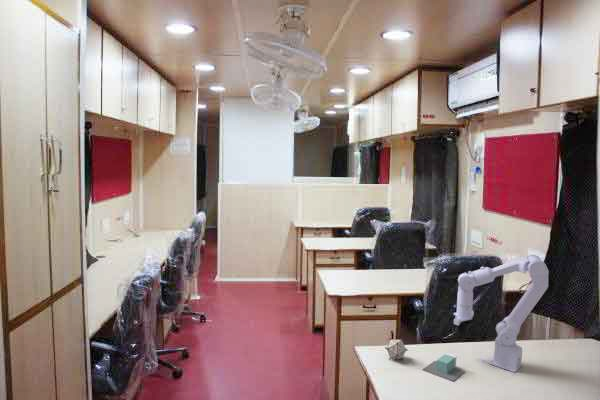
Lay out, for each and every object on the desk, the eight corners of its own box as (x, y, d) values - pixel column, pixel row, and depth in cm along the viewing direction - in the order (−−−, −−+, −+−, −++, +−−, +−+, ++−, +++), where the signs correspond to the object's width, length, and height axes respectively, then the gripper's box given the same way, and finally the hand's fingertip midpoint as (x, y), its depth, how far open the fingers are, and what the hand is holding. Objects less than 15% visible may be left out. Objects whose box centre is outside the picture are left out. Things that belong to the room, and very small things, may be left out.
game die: (397, 365, 181) (411, 344, 182) (400, 368, 172) (414, 345, 174) (378, 352, 182) (392, 330, 184) (380, 353, 174) (394, 331, 176)
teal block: (456, 356, 172) (447, 363, 166) (455, 366, 172) (446, 373, 167) (446, 353, 175) (436, 359, 169) (445, 363, 175) (436, 370, 169)
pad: (464, 372, 169) (465, 371, 169) (453, 381, 162) (453, 380, 162) (434, 361, 177) (434, 360, 177) (422, 370, 170) (422, 369, 170)
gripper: (462, 297, 186) (460, 329, 188) (446, 306, 175) (445, 340, 177) (479, 301, 181) (477, 334, 183) (464, 310, 171) (462, 345, 172)
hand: (462, 337), depth 180 cm, fingers closed
